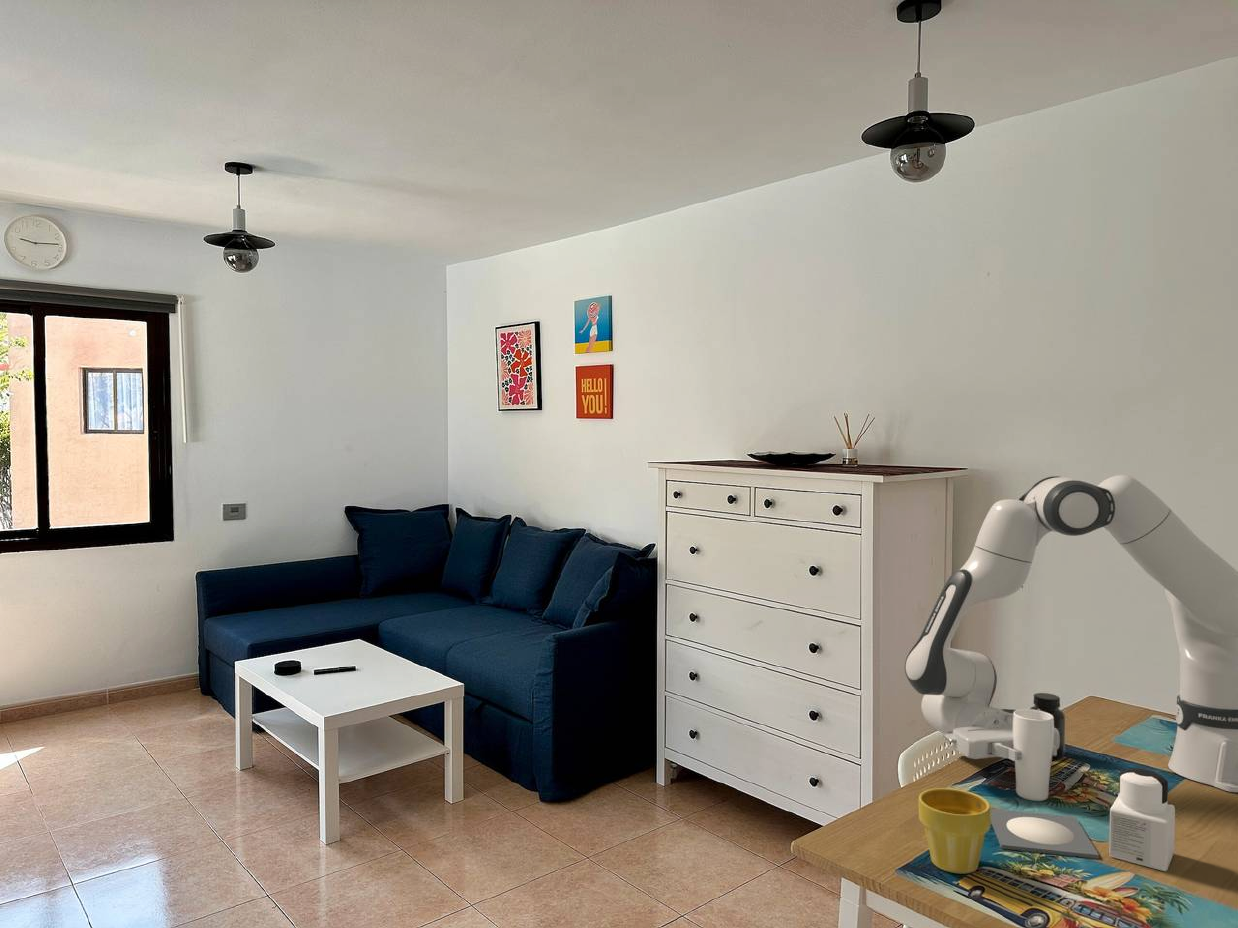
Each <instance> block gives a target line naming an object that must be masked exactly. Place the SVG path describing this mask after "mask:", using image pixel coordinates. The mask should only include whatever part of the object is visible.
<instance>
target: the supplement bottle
mask: <svg viewBox="0 0 1238 928" xmlns="http://www.w3.org/2000/svg"><path fill="white" fill-rule="evenodd" d="M1060 707H1061V697H1059V695H1056V694H1052V693H1048V692H1038V693H1034V694H1033V706H1031V707H1030V708H1029V709H1033V710H1039V711H1043V712H1047V713H1049V714H1051V715H1052V716H1053V717H1054V728H1056V729H1057V730H1058V731H1059V735H1060V743H1059V748H1058V749H1057V755H1056V756H1052V760H1060V759H1062V758H1064V756H1065V748H1066V747H1065V745H1066V716H1065V713H1064V712H1063V710H1061V709H1060Z"/></svg>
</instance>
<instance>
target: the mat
mask: <svg viewBox="0 0 1238 928" xmlns="http://www.w3.org/2000/svg"><path fill="white" fill-rule="evenodd" d="M990 824H991V825H992V828H993V830H994V833H995V835H996V838H997V841H998V843H999V845H1000V848H1001V849H1002V850H1005V849H1006V850H1012V851H1013V850H1014V851H1020V852H1021V851H1022V852H1030V853H1040V854H1049V855H1059V856H1067V857H1076V856H1078V858H1088V859H1096V860H1099V859H1100V854H1099V853H1098V851H1097V849H1096V848H1095V845H1094V844H1093V843H1092V842H1091V840H1090V839H1089V837H1088V834H1086V832H1085V830H1084V828H1083V827H1082V826H1081V824H1080V822H1079V821H1078V819H1077V816H1069V815H1060V814H1050V813H1039V812H1028V811H1017V810H1009V809H1000V808H999V809H997V808H991V823H990Z"/></svg>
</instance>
